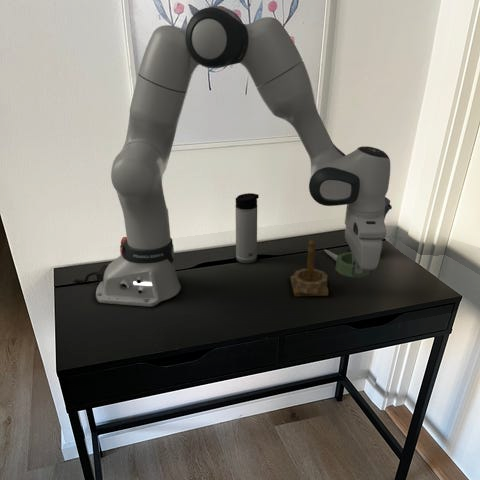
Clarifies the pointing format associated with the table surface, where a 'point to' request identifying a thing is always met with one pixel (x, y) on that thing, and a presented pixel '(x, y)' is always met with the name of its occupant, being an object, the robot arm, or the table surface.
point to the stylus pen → (331, 254)
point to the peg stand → (309, 272)
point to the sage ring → (348, 266)
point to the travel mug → (246, 227)
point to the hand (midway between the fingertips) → (356, 270)
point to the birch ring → (310, 286)
